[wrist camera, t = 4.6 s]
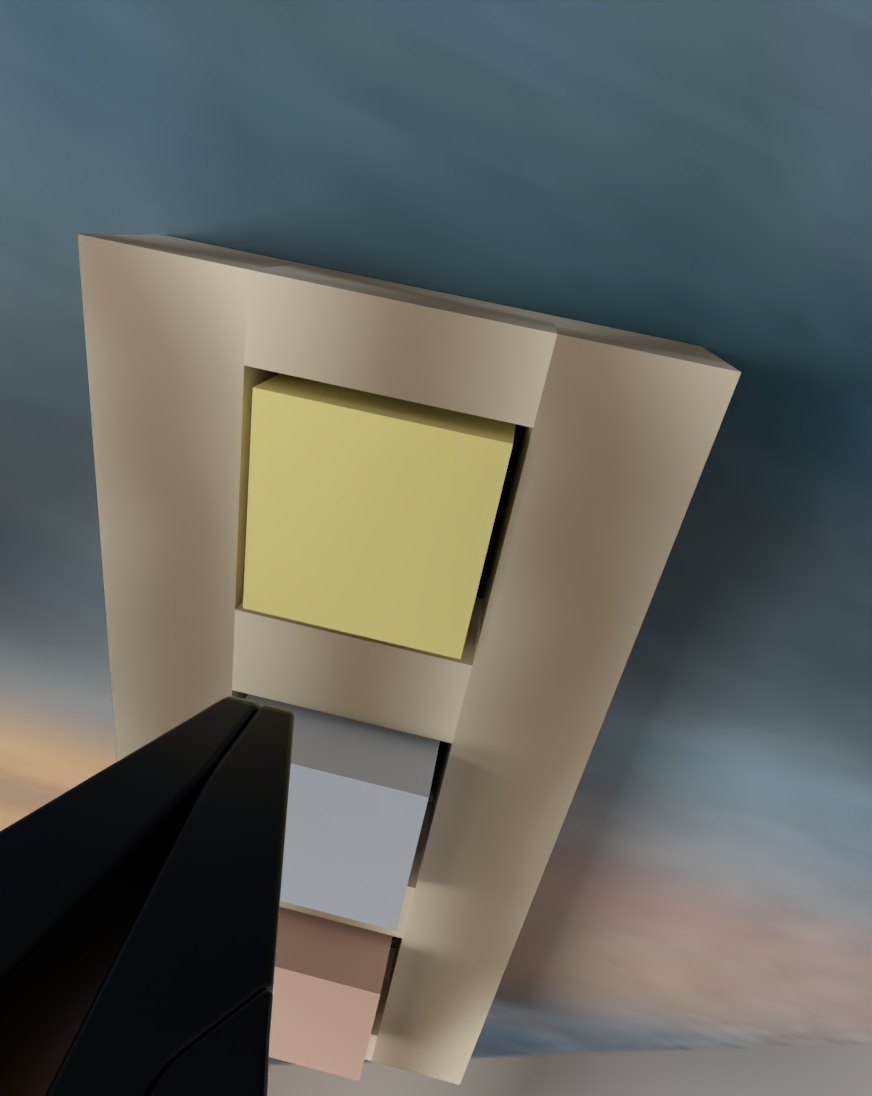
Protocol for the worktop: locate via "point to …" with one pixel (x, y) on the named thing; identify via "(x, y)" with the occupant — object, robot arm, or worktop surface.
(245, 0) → the worktop surface
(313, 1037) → the clay button
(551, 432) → the button board
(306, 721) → the grey button
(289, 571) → the yellow button
